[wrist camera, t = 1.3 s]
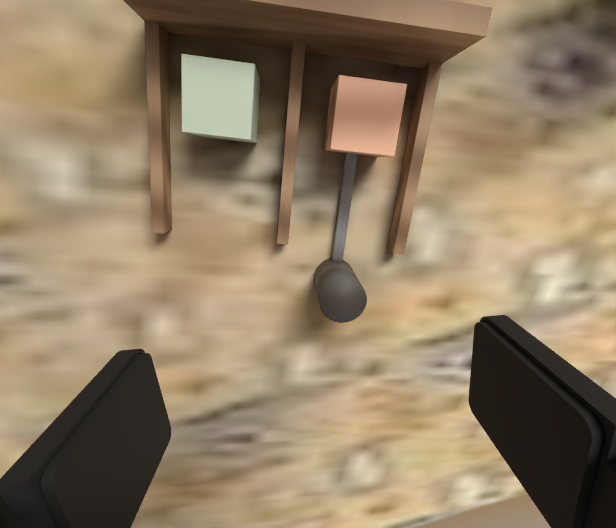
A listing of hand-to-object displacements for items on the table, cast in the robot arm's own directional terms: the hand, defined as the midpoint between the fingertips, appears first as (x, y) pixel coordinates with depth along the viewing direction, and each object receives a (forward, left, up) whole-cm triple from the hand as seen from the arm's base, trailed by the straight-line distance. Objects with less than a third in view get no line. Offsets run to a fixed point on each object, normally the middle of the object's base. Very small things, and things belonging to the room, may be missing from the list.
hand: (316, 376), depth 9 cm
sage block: (+9, +7, -23) cm, 26 cm away
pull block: (+2, -4, -23) cm, 24 cm away
